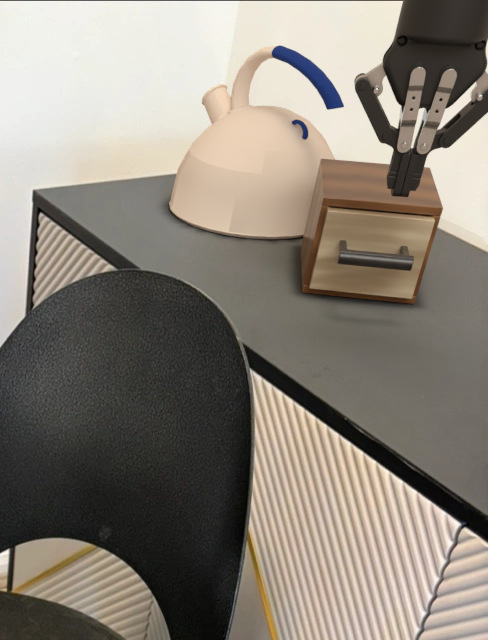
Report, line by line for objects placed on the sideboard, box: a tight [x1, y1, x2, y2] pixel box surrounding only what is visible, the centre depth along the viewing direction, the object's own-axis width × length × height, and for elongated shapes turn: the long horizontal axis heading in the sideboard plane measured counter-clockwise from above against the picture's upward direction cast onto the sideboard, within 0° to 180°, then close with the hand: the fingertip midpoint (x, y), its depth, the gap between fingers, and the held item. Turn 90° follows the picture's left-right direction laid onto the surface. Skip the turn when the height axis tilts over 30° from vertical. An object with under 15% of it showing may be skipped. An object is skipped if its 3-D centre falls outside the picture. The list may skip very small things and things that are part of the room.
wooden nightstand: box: [300, 159, 444, 305], centre depth 120 cm, size 15×12×10 cm
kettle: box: [168, 45, 345, 240], centre depth 132 cm, size 20×21×18 cm
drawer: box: [309, 206, 435, 299], centre depth 117 cm, size 18×10×8 cm, turn 167°
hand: (399, 194), depth 103 cm, fingers closed
